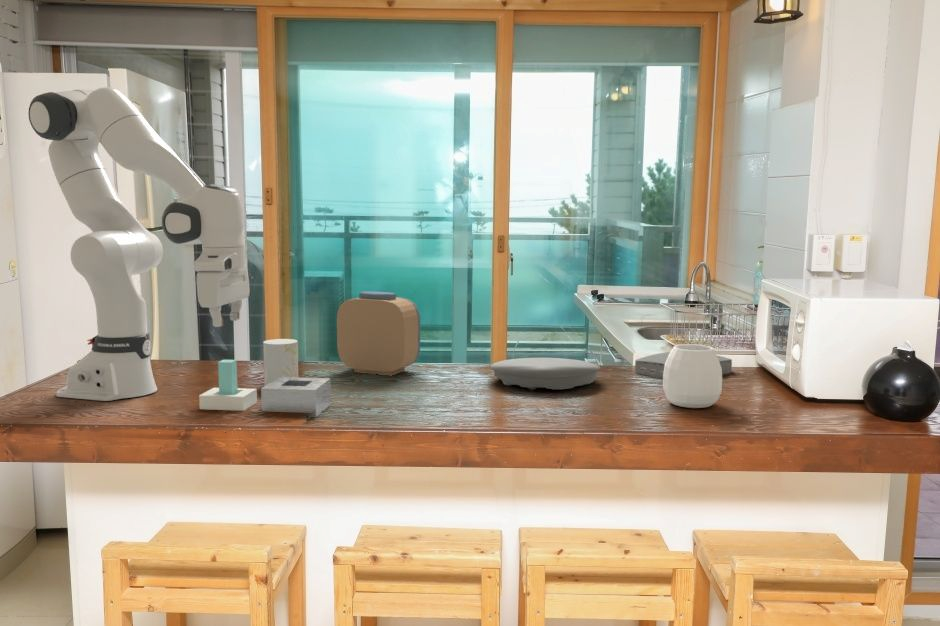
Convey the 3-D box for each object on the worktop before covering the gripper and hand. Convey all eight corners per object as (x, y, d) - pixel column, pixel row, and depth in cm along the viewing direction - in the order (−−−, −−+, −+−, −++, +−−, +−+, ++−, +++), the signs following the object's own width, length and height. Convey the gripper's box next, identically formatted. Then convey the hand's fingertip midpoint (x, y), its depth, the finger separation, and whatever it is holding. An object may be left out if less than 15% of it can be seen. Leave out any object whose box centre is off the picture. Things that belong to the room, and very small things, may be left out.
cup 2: (650, 401, 201) (652, 344, 199) (696, 396, 206) (698, 340, 205) (685, 414, 189) (687, 354, 187) (733, 408, 194) (736, 350, 192)
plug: (219, 406, 190) (218, 362, 188) (225, 403, 193) (223, 359, 191) (232, 407, 189) (231, 362, 188) (237, 403, 192) (236, 359, 191)
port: (261, 415, 186) (261, 388, 185) (280, 402, 198) (279, 376, 197) (315, 417, 185) (315, 389, 184) (331, 404, 197) (330, 378, 196)
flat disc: (623, 386, 217) (623, 369, 217) (536, 400, 202) (536, 381, 201) (552, 370, 240) (552, 354, 240) (469, 381, 225) (469, 364, 224)
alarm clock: (421, 371, 234) (421, 292, 231) (404, 378, 225) (404, 296, 223) (356, 365, 242) (355, 289, 240) (337, 371, 234) (336, 292, 231)
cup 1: (290, 394, 207) (289, 344, 205) (259, 392, 208) (257, 343, 207) (303, 387, 214) (302, 339, 213) (273, 385, 216) (271, 338, 215)
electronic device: (628, 373, 235) (628, 355, 235) (674, 363, 250) (674, 346, 249) (688, 384, 221) (688, 365, 221) (733, 373, 236) (734, 355, 235)
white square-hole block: (199, 413, 188) (199, 395, 187) (214, 404, 196) (213, 387, 195) (244, 414, 187) (243, 396, 186) (257, 406, 195) (256, 388, 194)
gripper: (228, 257, 197) (231, 316, 199) (190, 263, 177) (193, 330, 179) (255, 257, 197) (257, 317, 198) (219, 263, 177) (222, 330, 178)
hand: (226, 323), depth 189 cm, fingers open, 8 cm apart
